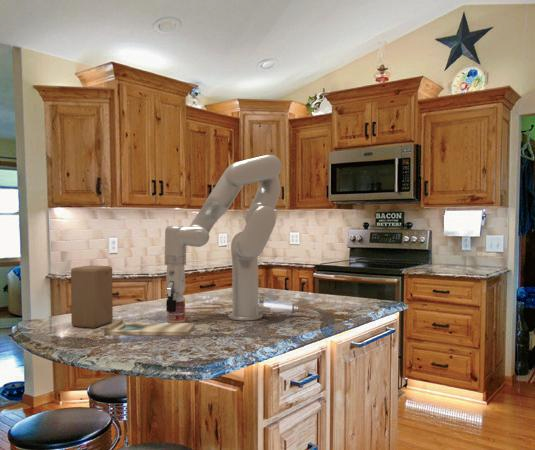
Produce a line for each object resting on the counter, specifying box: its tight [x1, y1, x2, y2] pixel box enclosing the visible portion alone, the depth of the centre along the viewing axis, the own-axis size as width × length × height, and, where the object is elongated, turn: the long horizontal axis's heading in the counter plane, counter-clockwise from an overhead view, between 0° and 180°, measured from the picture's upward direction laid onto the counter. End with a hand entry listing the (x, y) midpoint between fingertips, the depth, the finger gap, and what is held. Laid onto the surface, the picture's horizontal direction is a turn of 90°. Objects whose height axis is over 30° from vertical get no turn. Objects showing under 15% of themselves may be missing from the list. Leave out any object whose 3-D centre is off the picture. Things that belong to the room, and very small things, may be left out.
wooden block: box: [70, 265, 114, 329], centre depth 157 cm, size 10×10×20 cm
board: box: [103, 319, 196, 337], centre depth 148 cm, size 26×12×2 cm, turn 88°
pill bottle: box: [166, 290, 186, 323], centre depth 162 cm, size 6×6×11 cm
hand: (174, 309), depth 162 cm, fingers open, 9 cm apart
